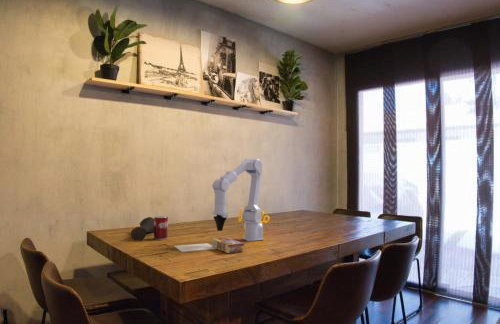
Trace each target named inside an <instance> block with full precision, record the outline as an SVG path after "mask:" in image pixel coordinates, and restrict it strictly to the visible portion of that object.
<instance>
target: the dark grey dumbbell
mask: <svg viewBox="0 0 500 324" xmlns="http://www.w3.org/2000/svg"><path fill="white" fill-rule="evenodd" d="M130 232H131V233H130V234H131V235H130V236H131V238H132V239H133V240H134V241H143V240H144V239H145V237H146V235H147V233H153V234H154V218H153V217H151V216H148V217H144V218H143V219H142V220H141V221H140V222H139V226H136V227H134V228H133V229H131V231H130Z"/></svg>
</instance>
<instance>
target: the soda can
mask: <svg viewBox="0 0 500 324" xmlns="http://www.w3.org/2000/svg"><path fill="white" fill-rule="evenodd" d="M168 227H169V217H168V215H157V216H154V232H153V239H154V240H155V241H163V240H167V239H168V235H169V234H168V233H169V232H168V231H169V228H168Z"/></svg>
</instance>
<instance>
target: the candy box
mask: <svg viewBox="0 0 500 324" xmlns="http://www.w3.org/2000/svg"><path fill="white" fill-rule="evenodd" d="M211 239H212V240H211V245H212V247H214V248H216V249H215V250H219V251H222V252H224V253H226V254H234V253H235V254H236V253H241V252H242V253H243V252H245V242H241V241H239V240H235V239H232V238H230V237H217V238H216V237H215V238H211Z"/></svg>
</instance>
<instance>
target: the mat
mask: <svg viewBox="0 0 500 324" xmlns="http://www.w3.org/2000/svg"><path fill="white" fill-rule="evenodd" d="M174 248H175V249H177V250H179V252H180V253H186V252H187V253H188V252H196V251H197V252H198V251H210V250H217V249H216V248H214V247H212V244H210V243H207V242H205V243H194V244H193V243H192V244H180V245H174Z"/></svg>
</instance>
